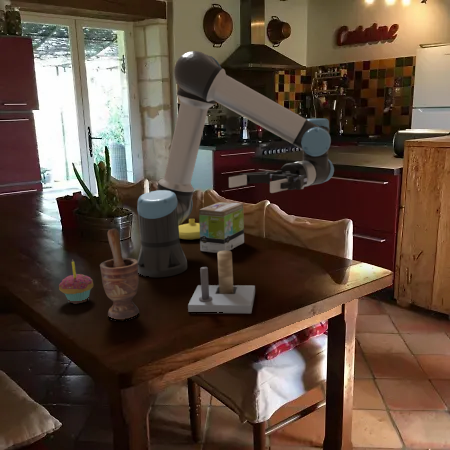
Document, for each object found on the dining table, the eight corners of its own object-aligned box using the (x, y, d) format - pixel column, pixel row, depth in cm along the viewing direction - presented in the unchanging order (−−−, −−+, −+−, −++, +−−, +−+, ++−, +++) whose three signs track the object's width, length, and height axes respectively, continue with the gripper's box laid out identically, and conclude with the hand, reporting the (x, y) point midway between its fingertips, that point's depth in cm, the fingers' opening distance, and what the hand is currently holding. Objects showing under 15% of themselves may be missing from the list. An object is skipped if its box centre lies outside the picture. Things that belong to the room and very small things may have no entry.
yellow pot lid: (221, 236, 182) (221, 218, 181) (188, 245, 172) (186, 226, 171) (197, 230, 194) (195, 212, 192) (164, 237, 184) (162, 220, 183)
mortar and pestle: (94, 311, 118) (85, 232, 113) (125, 301, 123) (118, 225, 119) (115, 325, 109) (106, 241, 105) (148, 314, 115) (141, 233, 110)
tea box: (226, 254, 159) (224, 210, 156) (199, 251, 164) (197, 209, 160) (245, 242, 172) (243, 202, 169) (220, 240, 177) (218, 200, 173)
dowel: (218, 300, 121) (216, 254, 118) (220, 294, 125) (218, 250, 122) (232, 300, 121) (230, 254, 118) (234, 295, 124) (232, 250, 121)
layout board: (188, 312, 115) (185, 272, 112) (198, 292, 127) (196, 256, 125) (251, 313, 113) (249, 272, 110) (255, 292, 125) (253, 255, 123)
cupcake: (95, 304, 122) (90, 259, 119) (60, 309, 120) (54, 264, 117) (94, 293, 130) (89, 250, 127) (61, 297, 128) (56, 254, 125)
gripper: (334, 192, 131) (290, 205, 116) (262, 184, 147) (214, 194, 132) (335, 165, 129) (290, 174, 114) (262, 159, 145) (214, 166, 130)
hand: (249, 184), depth 123 cm, fingers open, 13 cm apart
